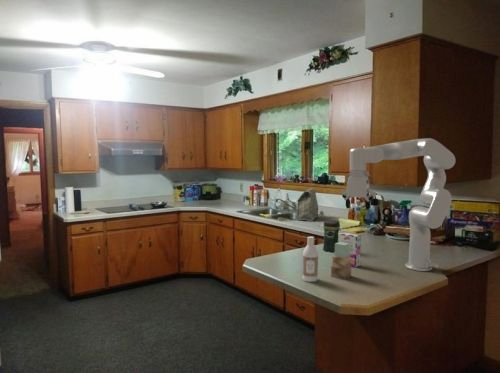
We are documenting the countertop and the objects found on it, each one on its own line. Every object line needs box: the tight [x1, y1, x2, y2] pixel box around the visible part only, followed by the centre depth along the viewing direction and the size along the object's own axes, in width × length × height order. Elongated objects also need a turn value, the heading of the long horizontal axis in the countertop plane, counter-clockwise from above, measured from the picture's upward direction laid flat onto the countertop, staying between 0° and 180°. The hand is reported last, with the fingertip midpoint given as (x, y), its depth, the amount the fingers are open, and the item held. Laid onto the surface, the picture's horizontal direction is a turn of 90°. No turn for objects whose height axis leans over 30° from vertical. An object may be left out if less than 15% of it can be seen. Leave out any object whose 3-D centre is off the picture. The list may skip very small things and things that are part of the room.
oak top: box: [331, 254, 350, 269], centre depth 174 cm, size 6×6×5 cm
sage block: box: [334, 242, 350, 258], centre depth 174 cm, size 5×5×6 cm
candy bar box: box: [338, 231, 362, 268], centre depth 193 cm, size 11×5×16 cm, turn 44°
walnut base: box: [330, 265, 352, 281], centre depth 175 cm, size 7×7×5 cm
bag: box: [296, 187, 319, 222], centre depth 328 cm, size 22×16×27 cm
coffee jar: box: [322, 219, 341, 253], centre depth 221 cm, size 10×8×19 cm
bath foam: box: [301, 236, 319, 283], centre depth 169 cm, size 7×7×20 cm
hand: (357, 208), depth 179 cm, fingers open, 9 cm apart
